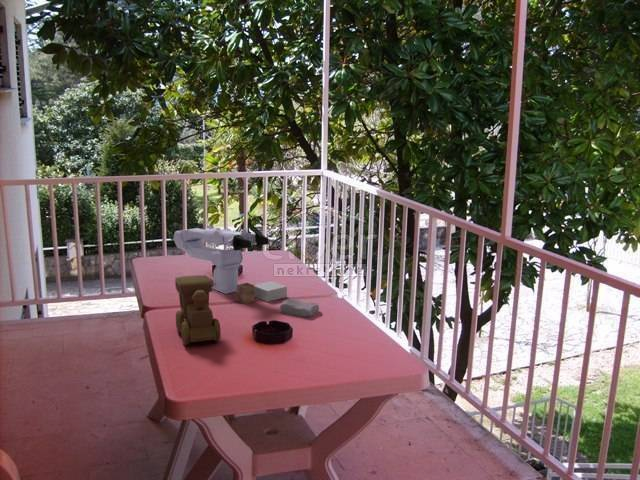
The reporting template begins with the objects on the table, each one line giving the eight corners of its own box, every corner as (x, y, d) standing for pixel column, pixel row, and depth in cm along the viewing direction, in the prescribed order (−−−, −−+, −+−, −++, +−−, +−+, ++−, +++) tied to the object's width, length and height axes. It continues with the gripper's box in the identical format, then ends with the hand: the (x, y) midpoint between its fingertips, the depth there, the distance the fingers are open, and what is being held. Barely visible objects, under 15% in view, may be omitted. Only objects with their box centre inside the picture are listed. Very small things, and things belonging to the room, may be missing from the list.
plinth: (252, 295, 243) (252, 285, 242) (271, 291, 249) (271, 281, 248) (267, 301, 237) (267, 291, 236) (286, 297, 243) (286, 286, 242)
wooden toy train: (173, 327, 210) (172, 276, 206) (209, 323, 213) (208, 274, 210) (184, 350, 191) (182, 295, 188) (223, 345, 195) (222, 291, 192)
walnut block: (236, 301, 237) (236, 284, 236) (247, 298, 240) (246, 282, 239) (244, 304, 234) (244, 287, 233) (254, 301, 237) (254, 285, 236)
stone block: (291, 310, 234) (277, 313, 225) (293, 297, 234) (279, 299, 225) (321, 317, 229) (308, 320, 220) (323, 303, 228) (310, 306, 219)
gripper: (219, 230, 236) (241, 234, 226) (252, 226, 246) (274, 228, 236) (220, 250, 237) (242, 254, 227) (253, 244, 247) (275, 248, 237)
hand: (259, 242), depth 231 cm, fingers open, 7 cm apart
